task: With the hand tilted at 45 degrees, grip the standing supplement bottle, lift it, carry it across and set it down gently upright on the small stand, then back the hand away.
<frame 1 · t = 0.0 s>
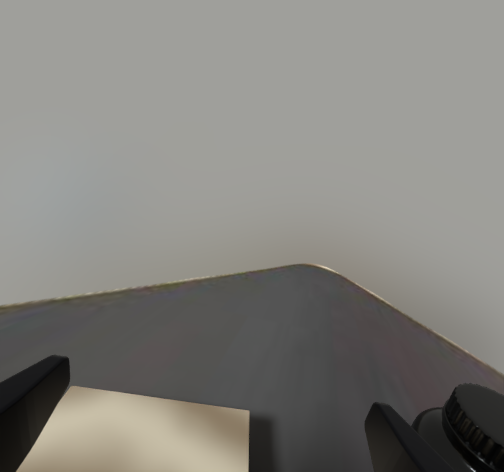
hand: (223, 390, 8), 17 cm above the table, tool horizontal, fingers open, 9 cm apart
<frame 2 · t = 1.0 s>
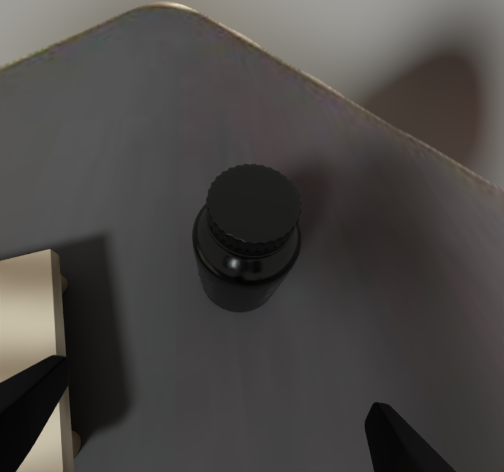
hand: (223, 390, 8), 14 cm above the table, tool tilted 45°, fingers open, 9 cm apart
supplement bottle: (238, 275, 24), on the table
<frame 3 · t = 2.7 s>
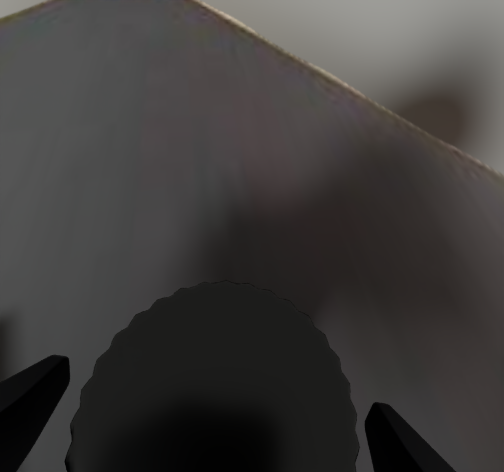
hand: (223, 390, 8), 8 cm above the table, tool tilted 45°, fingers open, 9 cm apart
supplement bottle: (219, 380, 15), on the table
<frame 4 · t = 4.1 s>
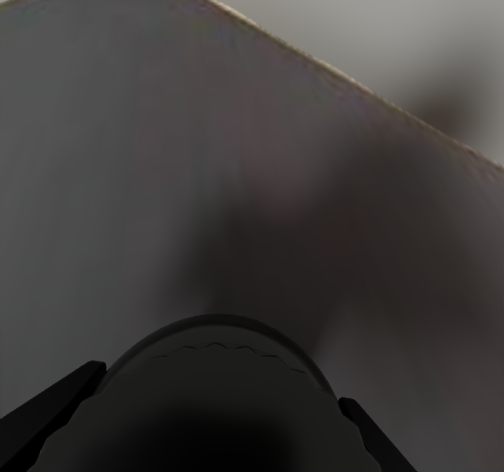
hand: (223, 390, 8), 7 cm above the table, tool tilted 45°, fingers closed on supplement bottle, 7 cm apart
supplement bottle: (215, 407, 14), on the table, touching gripper
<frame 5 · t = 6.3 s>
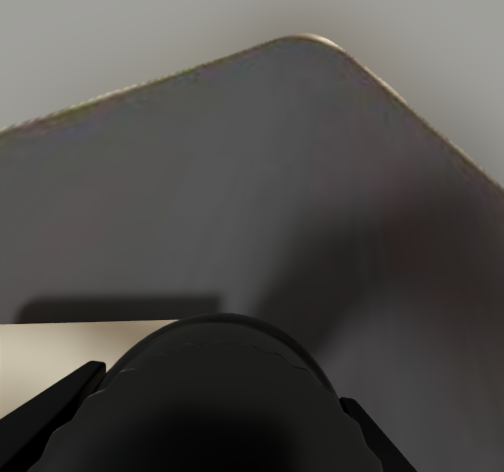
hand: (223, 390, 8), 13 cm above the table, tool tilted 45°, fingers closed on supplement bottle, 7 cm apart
supplement bottle: (217, 406, 14), point 6 cm above the table, touching gripper
small stand: (64, 443, 17), on the table
when the fingers open (12 cm above the table, at t = 8.6 s): supplement bottle drops 1 cm, resting on small stand.
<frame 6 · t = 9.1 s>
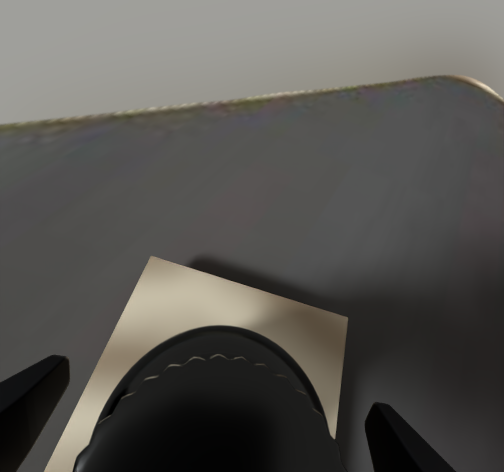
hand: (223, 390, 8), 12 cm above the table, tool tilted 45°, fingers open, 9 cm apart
supplement bottle: (215, 406, 15), point 3 cm above the table, touching small stand
small stand: (215, 396, 18), on the table
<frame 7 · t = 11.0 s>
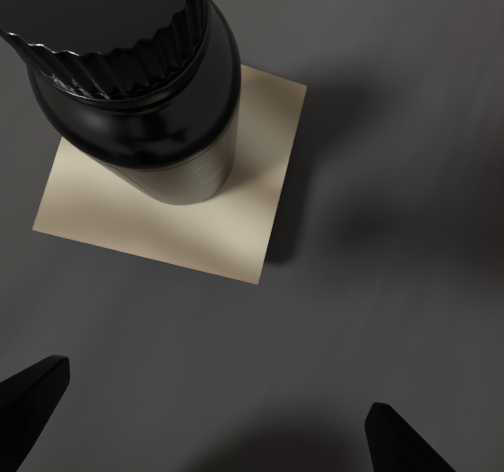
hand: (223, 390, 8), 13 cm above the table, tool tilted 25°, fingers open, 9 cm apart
supplement bottle: (180, 155, 17), point 3 cm above the table, touching small stand
small stand: (186, 168, 20), on the table
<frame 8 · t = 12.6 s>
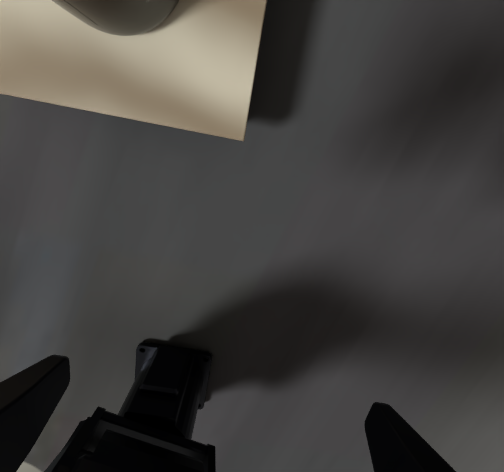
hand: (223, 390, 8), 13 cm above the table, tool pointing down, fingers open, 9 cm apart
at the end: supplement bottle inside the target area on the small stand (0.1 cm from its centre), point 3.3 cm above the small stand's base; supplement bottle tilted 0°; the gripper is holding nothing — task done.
